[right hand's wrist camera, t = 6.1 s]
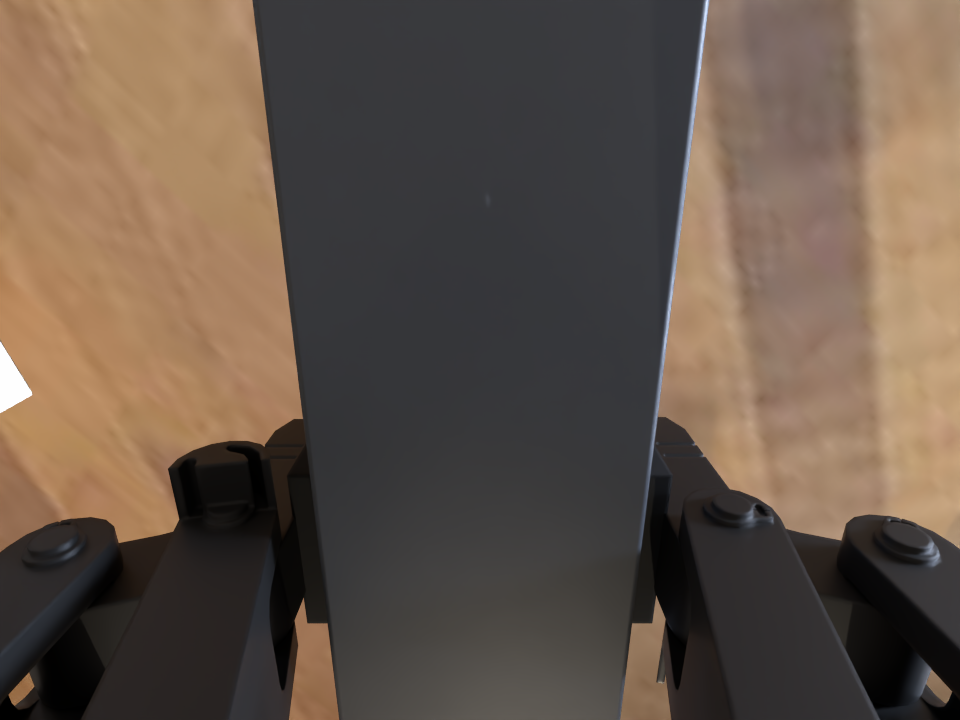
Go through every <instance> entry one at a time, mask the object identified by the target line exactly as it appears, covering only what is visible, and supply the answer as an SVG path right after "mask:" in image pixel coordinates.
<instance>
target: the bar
mask: <svg viewBox="0 0 960 720" xmlns="http://www.w3.org/2000/svg"><path fill="white" fill-rule="evenodd" d="M708 6H709V0H253V8H254V17H255V25H256V33H257V41H258V50H259V58H260V66H261V75H262V83H263V91H264V99H265V108H266V116H267V124H268V133H269V141H270V149H271V157H272V166H273V174H274V182H275V191H276V199H277V207H278V215H279V224H280V232H281V240H282V249H283V257H284V265H285V273H286V282H287V290H288V298H289V307H290V315H291V323H292V331H293V340H294V348H295V356H296V365H297V373H298V381H299V389H300V398H301V406H302V414H303V423H304V431H305V439H306V447H307V456H308V464H309V472H310V481H311V489H312V497H313V505H314V514H315V522H316V530H317V539H318V547H319V555H320V563H321V572H322V580H323V588H324V596H325V605H326V613H327V621H328V630H329V638H330V646H331V654H332V663H333V671H334V679H335V688H336V696H337V704H338V712H339V720H620V716H621V708H622V699H623V691H624V683H625V675H626V667H627V659H628V651H629V643H630V635H631V627H632V619H633V611H634V603H635V595H636V587H637V578H638V570H639V562H640V554H641V546H642V538H643V530H644V522H645V514H646V506H647V498H648V490H649V482H650V474H651V466H652V458H653V449H654V441H655V433H656V425H657V417H658V409H659V401H660V393H661V385H662V377H663V369H664V361H665V353H666V345H667V337H668V329H669V320H670V312H671V304H672V296H673V288H674V280H675V272H676V264H677V256H678V248H679V240H680V232H681V224H682V216H683V208H684V199H685V191H686V183H687V175H688V167H689V159H690V151H691V143H692V135H693V127H694V119H695V111H696V103H697V95H698V87H699V79H700V70H701V62H702V54H703V46H704V38H705V30H706V22H707V14H708Z"/></svg>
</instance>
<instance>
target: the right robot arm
mask: <svg viewBox="0 0 960 720" xmlns="http://www.w3.org/2000/svg"><path fill="white" fill-rule="evenodd" d="M168 471H169V475H170V480H171V484H172V489H173V493H174V497H175V502H176V506H177V511H178V515H179V521H178V524H177V526H176V528H175V530H174V532H170V533H166V534H163V535H158V536H153V537H148V538H143V539H138V540H133V541H128V542H123V543H118V539H117V535H116V532H115V528H114V526H113V525H112V524H110V523H109V522H108V521H107V520H104V519H98V518H92V517H88V518H77V519H67V520H62V521H61V522H55V523H52V524H48V525H46V526H44V527H43V528H41V529H38V530H36V531H34V532H31V533H29V534H27V535H25V536H24V537H22V538H21V539H19V540H17V541H16V542H14V543H13V544H11V545H10V546H8V547H7V548H5V549H4V550H3V551H2V552H0V720H289V714H290V705H291V697H292V689H293V681H294V673H295V665H296V657H297V649H298V642H297V634H296V628H295V621H294V620H295V618H296V615H297V613H298V610H299V608H300V605H301V603H302V600H303V598H304V602H305V609H306V616H307V623H328V621H327V613H326V605H325V596H324V588H323V580H322V572H321V563H320V555H319V547H318V539H317V530H316V522H315V514H314V505H313V497H312V489H311V481H310V472H309V464H308V456H307V447H306V439H305V431H304V423H303V419H294V420H292V421H290V422H289V423H287V424H286V425H284V426H282V427H281V428H279V429H278V430H276V431H275V432H274V433H273V435H272V436H271V437H270V439H269V440H268V441H267V443H266V444H265V447H264V446H262V445H261V444H258V443H253V442H249V441H228V442H222V443H216V444H211V445H208V446H205V447H202V448H199V449H196V450H193V451H191V452H189V453H188V454H186V455H184V456H182V457H180V458H179V459H177V460H176V461H175V462H174V463H173V464H172V465H171V466H170V467H169V468H168ZM656 596H657V598H658V601H659V603H660V606H661V608H662V611H663V613H664V616H665V618H666V621H665V628H664V634H663V641H662V648H661V654H660V661H659V668H658V675H657V682H658V683H664V681H665V675H666V680H667V688H668V696H669V704H670V712H671V720H960V549H959V548H957V547H956V546H955V545H954V544H952V543H951V542H949V541H947V540H946V539H944V538H943V537H941V536H940V535H938V534H936V533H935V532H933V531H931V530H928V529H926V528H924V527H921V526H919V525H917V524H916V523H914V522H911V521H908V520H905V519H902V520H901V519H899V518H897V517H891V516H879V515H864V516H858V517H854V518H853V519H851V520H850V521H849V522H848V523H847V524H846V526H845V530H844V534H843V537H842V541H840V540H835V539H830V538H825V537H820V536H814V535H809V534H804V533H799V532H795V531H791V530H788V529H785V527H784V525H783V523H782V521H781V519H780V517H779V516H778V515H777V514H776V513H775V511H774V510H773V509H772V508H771V507H770V506H768V505H767V504H765V503H764V502H762V501H761V500H759V499H757V498H755V497H753V496H750V495H748V494H745V493H743V492H740V491H735V490H730V489H729V488H728V487H727V485H726V484H725V483H724V481H723V480H722V478H721V477H720V476H719V474H718V473H717V472H716V470H715V469H714V468H713V466H712V465H711V464H710V462H709V461H708V460H707V458H706V457H703V453H702V452H701V450H700V449H699V448H698V446H697V445H695V442H694V441H693V440H692V438H691V437H690V436H689V434H688V433H687V432H686V430H685V429H684V428H682V427H681V426H679V425H677V424H676V423H674V422H672V421H671V420H669V419H668V418H666V417H657V425H656V433H655V441H654V449H653V458H652V466H651V474H650V482H649V490H648V498H647V506H646V514H645V522H644V530H643V538H642V546H641V554H640V562H639V570H638V578H637V587H636V595H635V603H634V611H633V619H632V623H652V621H653V613H654V606H655V599H656ZM931 669H932V670H933V671H934V672H935V673H936V674H937V675H938V677H939V678H940V679H941V680H942V681H943V682H944V683H945V684H946V685H947V686H948V687H949V688H950V690H951V691H952V694H951V696H950V699H949V701H948V702H947V703H944V702H943V701H941V700H940V699H939V698H938V697H937V696H936V695H935V694H934V693H933V692H932V691H931V690H930V688H929V687H928V686H927V685H926V682H927V679H928V677H929V674H930V672H931ZM28 673H30V676H31V678H32V681H33V683H34V686H35V687H34V688H33V689H32V690H31V691H30V692H29V694H28V695H27V696H26V697H25V698H24V699H23V700H21V701H20V702H19V703H18V704H17V705H15V706H14V705H13V704H12V703H11V700H10V698H9V695H8V694H9V693H10V692H11V691H12V690H13V689H14V688H15V687H16V686H17V685H18V684H19V682H20V681H21V680H22V679H23V678H24V677H25V676H26V675H27V674H28Z"/></svg>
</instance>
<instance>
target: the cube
mask: <svg viewBox="0 0 960 720" xmlns="http://www.w3.org/2000/svg"><path fill="white" fill-rule="evenodd" d="M31 395H32V392H31V390H30V389H29V387H28V386H27V384H26V382H25V381H24V379H23V377H22V376H21V374H20V373H19V371H18V369H17V368H16V366H15V365H14V363H13V361H12V360H11V358H10V357H9V355H8V353H7V352H6V350H5V349H4V347H3V345H2V344H1V342H0V413H1V412H3V411H5V410H7V409H8V408H10V407H12V406H14V405H15V404H17V403H19V402H21V401H22V400H24V399H26V398H28V397H29V396H31Z"/></svg>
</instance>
